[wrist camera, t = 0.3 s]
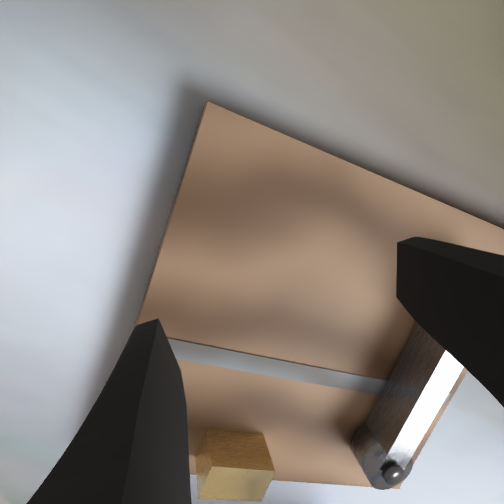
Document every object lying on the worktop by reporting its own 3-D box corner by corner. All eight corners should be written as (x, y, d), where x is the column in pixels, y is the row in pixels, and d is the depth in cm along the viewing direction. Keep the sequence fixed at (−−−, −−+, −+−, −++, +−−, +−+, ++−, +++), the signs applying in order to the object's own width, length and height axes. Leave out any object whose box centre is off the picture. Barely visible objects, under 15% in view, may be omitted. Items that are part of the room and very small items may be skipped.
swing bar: (377, 457, 26) (403, 496, 23) (342, 454, 24) (364, 494, 22) (480, 270, 22) (525, 289, 19) (444, 257, 21) (486, 275, 18)
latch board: (388, 472, 29) (399, 490, 28) (97, 446, 22) (91, 469, 20) (519, 239, 25) (542, 245, 23) (204, 104, 17) (208, 101, 16)
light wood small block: (250, 461, 23) (261, 501, 21) (195, 456, 22) (198, 498, 20) (263, 433, 23) (275, 471, 20) (206, 427, 22) (211, 466, 19)
